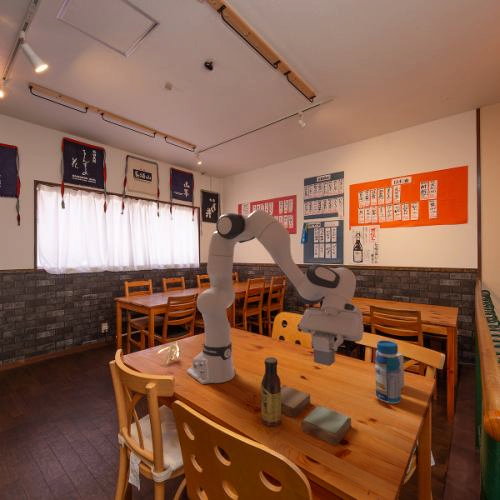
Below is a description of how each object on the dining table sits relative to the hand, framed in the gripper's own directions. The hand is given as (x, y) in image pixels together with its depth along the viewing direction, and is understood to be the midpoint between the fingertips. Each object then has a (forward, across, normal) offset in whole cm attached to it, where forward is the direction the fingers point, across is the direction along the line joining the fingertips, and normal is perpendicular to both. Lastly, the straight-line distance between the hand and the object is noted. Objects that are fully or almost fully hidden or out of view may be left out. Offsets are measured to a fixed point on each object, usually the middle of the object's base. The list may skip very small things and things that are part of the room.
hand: (323, 347), depth 84 cm
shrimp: (+16, -82, +17) cm, 85 cm away
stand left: (+14, -16, +20) cm, 29 cm away
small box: (-11, +8, +47) cm, 49 cm away
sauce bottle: (+23, -15, +12) cm, 29 cm away
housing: (+3, 0, +4) cm, 5 cm away
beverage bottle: (-3, +10, +39) cm, 40 cm away
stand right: (+17, 0, +17) cm, 24 cm away
